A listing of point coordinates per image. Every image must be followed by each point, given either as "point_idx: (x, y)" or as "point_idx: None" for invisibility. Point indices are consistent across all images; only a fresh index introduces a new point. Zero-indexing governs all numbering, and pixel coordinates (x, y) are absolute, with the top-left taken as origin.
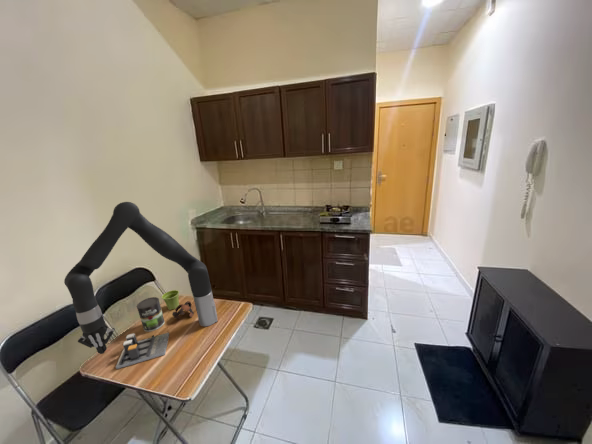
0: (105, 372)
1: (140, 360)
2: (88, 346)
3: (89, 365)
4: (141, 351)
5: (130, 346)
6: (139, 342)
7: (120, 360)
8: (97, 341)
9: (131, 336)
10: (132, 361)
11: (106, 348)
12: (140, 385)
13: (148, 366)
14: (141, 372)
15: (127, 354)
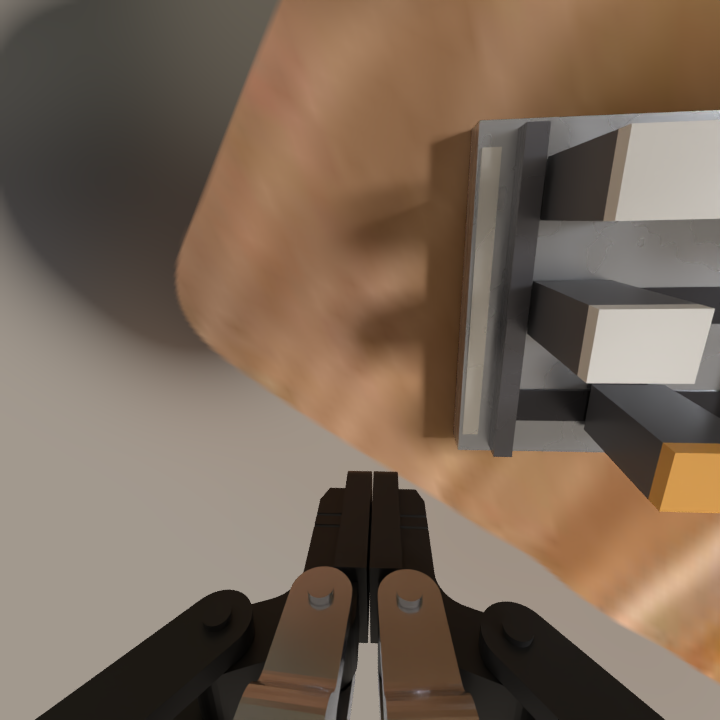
0: (371, 427)
1: None
2: (192, 718)
3: (185, 277)
4: None
5: (694, 468)
6: None
7: (499, 426)
8: (312, 655)
9: (708, 213)
10: (595, 450)
11: (422, 504)
12: (644, 634)
13: None
14: (648, 541)
15: None
